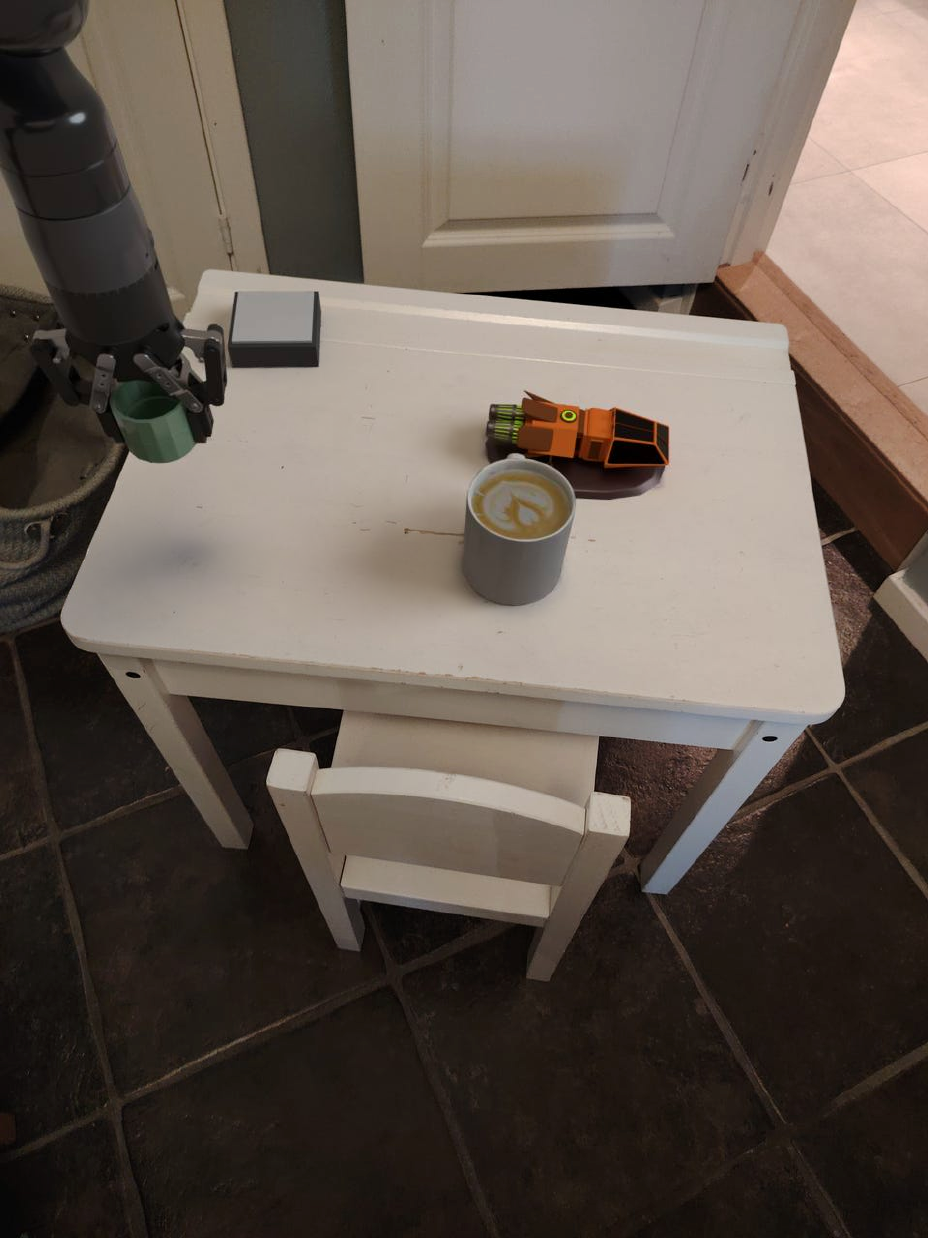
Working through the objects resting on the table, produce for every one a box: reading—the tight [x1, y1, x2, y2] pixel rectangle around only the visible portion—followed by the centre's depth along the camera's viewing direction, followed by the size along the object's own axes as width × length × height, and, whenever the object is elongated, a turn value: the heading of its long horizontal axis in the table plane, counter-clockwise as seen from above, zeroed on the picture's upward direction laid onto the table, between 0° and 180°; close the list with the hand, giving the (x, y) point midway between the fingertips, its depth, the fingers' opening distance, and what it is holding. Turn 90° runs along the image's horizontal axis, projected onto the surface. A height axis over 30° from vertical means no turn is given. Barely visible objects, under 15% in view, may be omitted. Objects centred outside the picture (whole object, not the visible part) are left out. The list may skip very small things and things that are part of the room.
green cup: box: [109, 380, 198, 464], centre depth 68 cm, size 6×6×5 cm
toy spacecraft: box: [484, 389, 670, 500], centre depth 89 cm, size 12×20×6 cm, turn 82°
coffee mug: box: [461, 453, 577, 606], centre depth 80 cm, size 13×10×10 cm
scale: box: [227, 290, 322, 369], centre depth 99 cm, size 10×10×3 cm
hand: (163, 435), depth 70 cm, fingers closed on green cup, 6 cm apart
